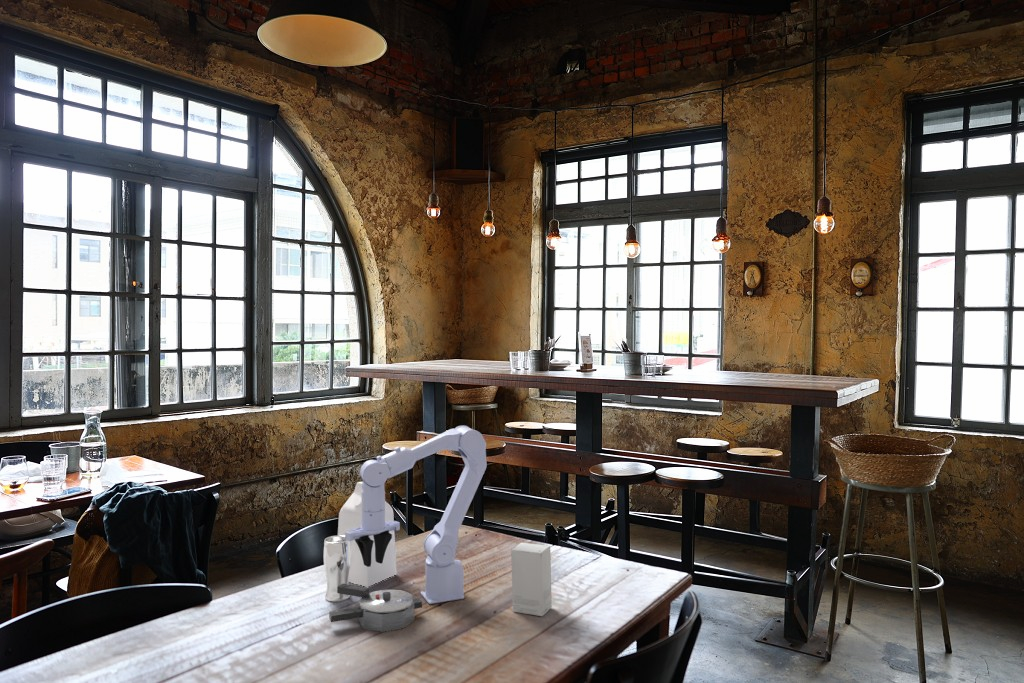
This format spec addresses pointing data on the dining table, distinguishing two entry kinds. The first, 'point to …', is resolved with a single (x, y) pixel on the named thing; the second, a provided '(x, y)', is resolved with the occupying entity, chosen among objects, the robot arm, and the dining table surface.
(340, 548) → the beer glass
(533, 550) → the skincare box
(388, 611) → the lid
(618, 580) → the dining table surface
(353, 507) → the milk
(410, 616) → the pot
